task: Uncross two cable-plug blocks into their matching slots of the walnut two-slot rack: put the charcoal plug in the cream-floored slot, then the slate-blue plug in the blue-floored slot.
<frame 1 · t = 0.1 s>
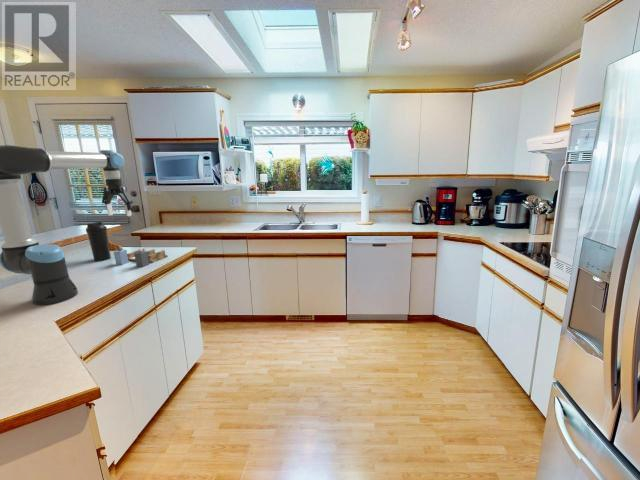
hand: (119, 215, 174), 28 cm above the counter, fingers open, 13 cm apart
plug charcoal: (143, 265, 172), on the counter
plug blue: (122, 263, 176), on the counter
slot rack: (147, 258, 185), on the counter
water bottle: (102, 259, 185), on the counter
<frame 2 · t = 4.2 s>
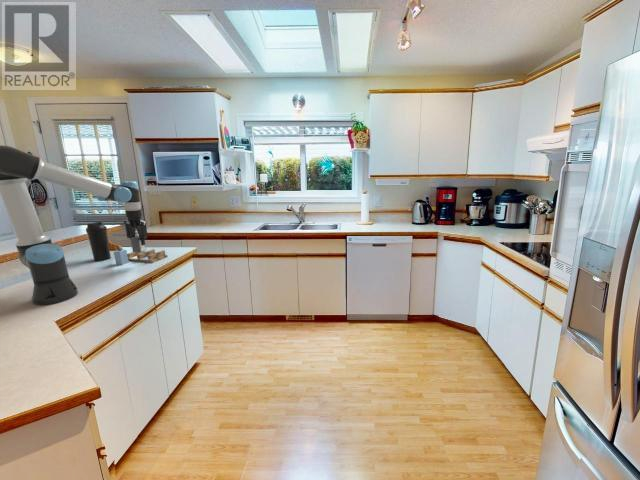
hand: (139, 250, 169), 9 cm above the counter, fingers closed on plug charcoal, 4 cm apart
plug charcoal: (139, 251, 170), point 9 cm above the counter, touching gripper
everything else where it was.
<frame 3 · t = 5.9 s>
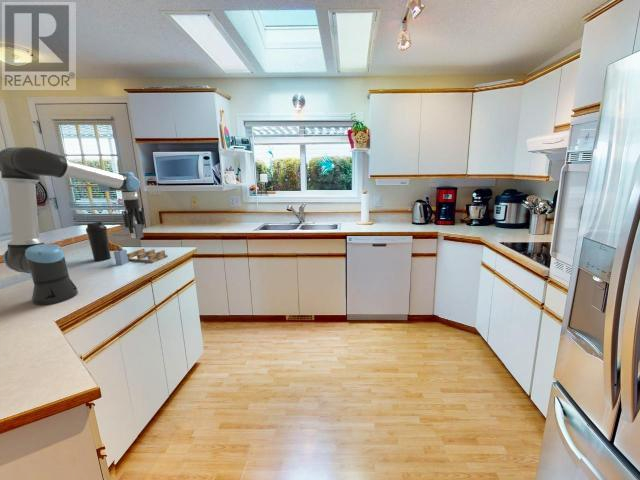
hand: (137, 237, 182), 14 cm above the counter, fingers closed on plug charcoal, 4 cm apart
plug charcoal: (137, 237, 182), point 13 cm above the counter, touching gripper
everything else where it was.
when the fingers open (2 cm above the counter, at t = 8.1 s): plug charcoal stays where it is, resting on slot rack.
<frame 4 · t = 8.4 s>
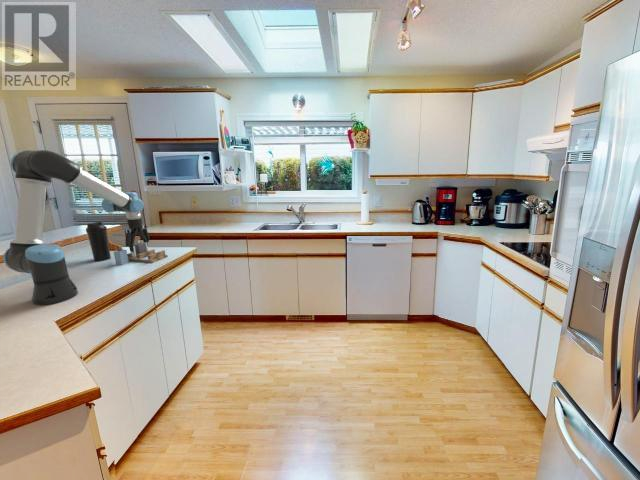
hand: (140, 254, 184), 3 cm above the counter, fingers open, 8 cm apart
plug charcoal: (140, 256, 185), point 1 cm above the counter, touching slot rack
everything else where it was.
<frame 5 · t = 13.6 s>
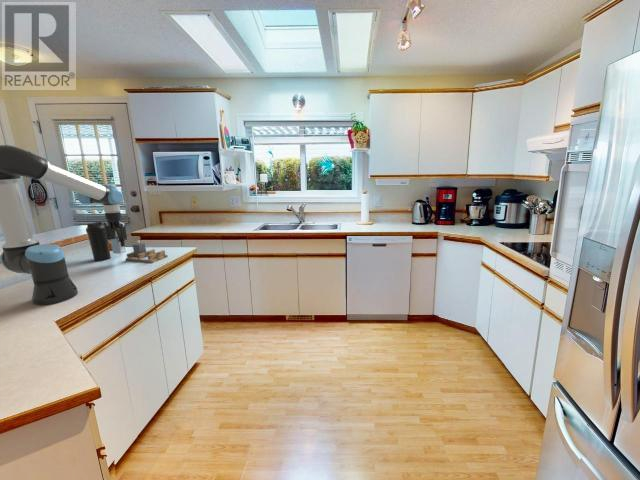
hand: (119, 251, 174), 8 cm above the counter, fingers closed on plug blue, 4 cm apart
plug blue: (119, 252, 174), point 7 cm above the counter, touching gripper
everything else where it was.
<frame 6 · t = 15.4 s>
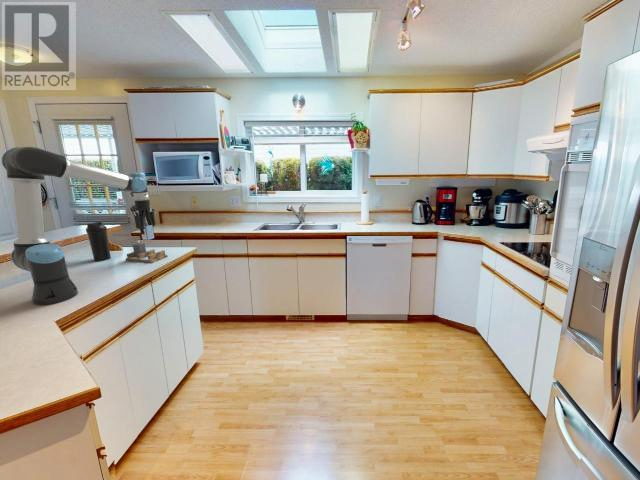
hand: (148, 238, 180), 13 cm above the counter, fingers closed on plug blue, 4 cm apart
plug blue: (148, 238, 180), point 13 cm above the counter, touching gripper
everything else where it was.
when the fingers open (2 cm above the counter, at t = 17.5 s): plug blue stays where it is, resting on slot rack.
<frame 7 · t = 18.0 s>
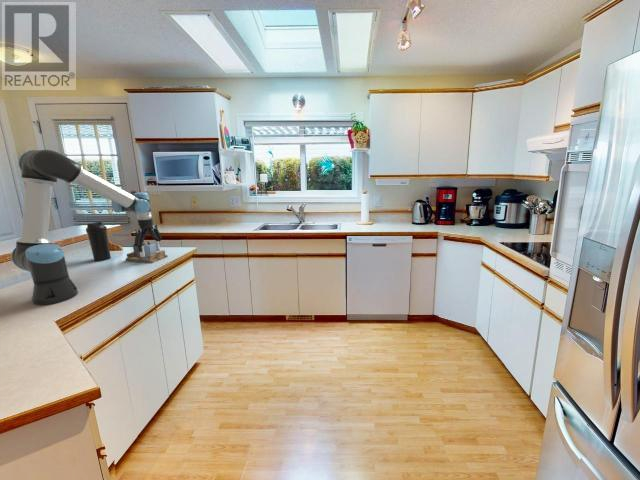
hand: (150, 253, 182), 3 cm above the counter, fingers open, 11 cm apart
plug blue: (151, 257, 183), point 1 cm above the counter, touching slot rack
everything else where it was.
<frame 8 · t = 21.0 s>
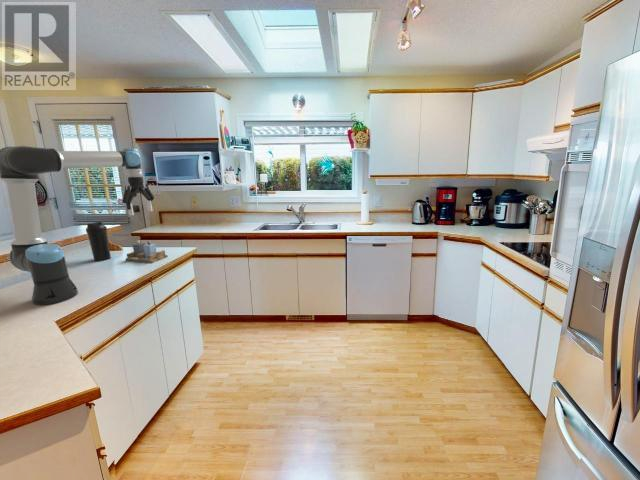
hand: (141, 213, 176), 29 cm above the counter, fingers open, 13 cm apart
nothing on the counter moved.
at the end: plug blue inside the target area on the slot rack (0.5 cm from its centre), point 1.4 cm above the slot rack's base; plug charcoal inside the target area on the slot rack (0.5 cm from its centre), point 1.4 cm above the slot rack's base; plug blue tilted 0° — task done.
